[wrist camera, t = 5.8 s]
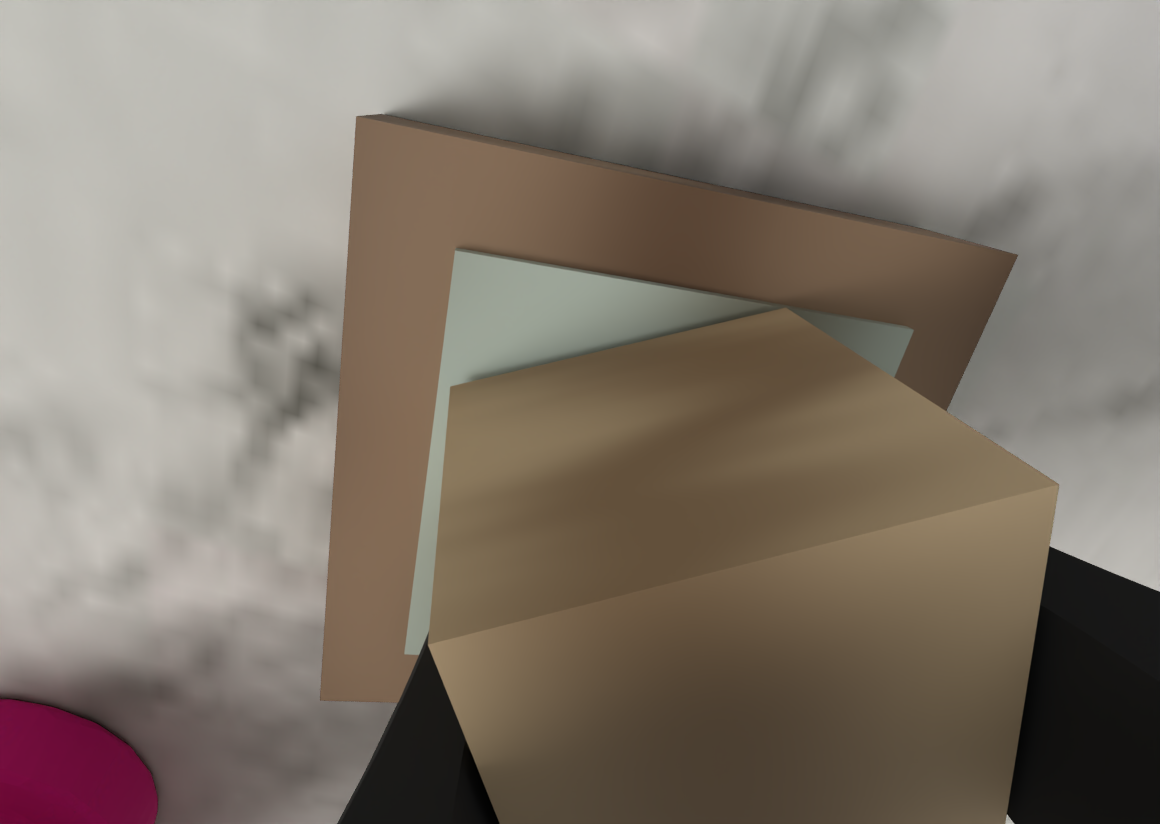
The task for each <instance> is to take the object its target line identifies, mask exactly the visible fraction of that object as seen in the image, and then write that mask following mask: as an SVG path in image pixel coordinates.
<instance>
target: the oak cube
mask: <svg viewBox="0 0 1160 824" xmlns="http://www.w3.org/2000/svg"><path fill="white" fill-rule="evenodd" d="M1058 489H1059V484H1058V483H1056V482H1055V481H1053V480H1051V479H1050V478H1048V477H1047V476H1045V475H1044V474H1042V473H1041V472H1039V471H1038V470H1036V469H1034V468H1033V467H1031V466H1030V465H1028V464H1027V463H1025V462H1024V461H1022V460H1021V459H1019V458H1017V457H1016V456H1014V455H1013V454H1011V453H1010V452H1008V451H1007V450H1005V449H1004V448H1002V447H1000V446H999V445H997V444H996V443H994V442H993V441H991V440H990V439H988V438H987V437H985V436H983V435H982V434H980V433H979V432H977V431H976V430H974V429H973V428H971V427H970V426H968V425H967V424H965V423H963V422H962V421H960V420H959V419H957V418H956V417H954V416H953V415H951V414H950V413H948V412H946V411H945V410H943V409H942V408H940V407H939V406H937V405H936V404H934V403H933V402H931V401H929V400H928V399H926V398H925V397H923V396H922V395H920V394H919V393H917V392H916V391H914V390H912V389H911V388H909V387H908V386H906V385H905V384H903V383H902V382H900V381H899V380H897V379H895V378H894V377H892V376H891V375H889V374H888V373H886V372H885V371H883V370H882V369H880V368H878V367H877V366H875V365H874V364H872V363H871V362H869V361H868V360H866V359H865V358H863V357H861V356H860V355H858V354H857V353H855V352H854V351H852V350H851V349H849V348H848V347H846V346H845V345H843V344H841V343H840V342H838V341H837V340H835V339H834V338H832V337H831V336H829V335H828V334H826V333H824V332H823V331H821V330H820V329H818V328H817V327H815V326H814V325H812V324H811V323H809V322H807V321H806V320H804V319H803V318H801V317H800V316H798V315H797V314H795V313H794V312H792V311H790V310H789V309H787V308H782V309H778V310H773V311H769V312H765V313H761V314H756V315H752V316H748V317H744V318H739V319H735V320H731V321H727V322H722V323H718V324H714V325H710V326H705V327H701V328H697V329H693V330H688V331H684V332H680V333H676V334H671V335H667V336H663V337H659V338H654V339H650V340H646V341H642V342H637V343H633V344H629V345H625V346H620V347H616V348H612V349H607V350H603V351H599V352H595V353H590V354H586V355H582V356H578V357H573V358H569V359H565V360H561V361H556V362H552V363H548V364H544V365H539V366H535V367H531V368H527V369H522V370H518V371H514V372H510V373H505V374H501V375H497V376H493V377H488V378H484V379H480V380H476V381H471V382H467V383H463V384H459V385H454V386H450V395H449V406H448V418H447V429H446V441H445V452H444V464H443V476H442V487H441V499H440V510H439V522H438V533H437V545H436V556H435V568H434V579H433V591H432V603H431V614H430V626H429V637H428V646H429V649H430V651H431V654H432V656H433V659H434V661H435V664H436V666H437V669H438V671H439V674H440V676H441V679H442V681H443V684H444V686H445V689H446V691H447V694H448V696H449V699H450V701H451V704H452V706H453V709H454V711H455V714H456V716H457V718H458V721H459V723H460V726H461V728H462V731H463V733H464V736H465V738H466V741H467V743H468V746H469V748H470V751H471V753H472V756H473V758H474V761H475V763H476V766H477V768H478V771H479V773H480V776H481V778H482V781H483V783H484V786H485V788H486V791H487V793H488V796H489V798H490V801H491V803H492V806H493V808H494V811H495V813H496V816H497V818H498V821H499V823H500V824H1005V821H1006V815H1007V809H1008V803H1009V796H1010V790H1011V784H1012V778H1013V771H1014V765H1015V759H1016V752H1017V746H1018V740H1019V734H1020V727H1021V721H1022V715H1023V709H1024V702H1025V696H1026V690H1027V683H1028V677H1029V671H1030V665H1031V658H1032V652H1033V646H1034V640H1035V633H1036V627H1037V621H1038V614H1039V608H1040V602H1041V596H1042V589H1043V583H1044V577H1045V570H1046V564H1047V558H1048V552H1049V545H1050V539H1051V533H1052V527H1053V520H1054V514H1055V508H1056V501H1057V495H1058Z"/></svg>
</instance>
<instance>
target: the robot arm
mask: <svg viewBox="0 0 1160 824" xmlns="http://www.w3.org/2000/svg"><path fill="white" fill-rule="evenodd" d="M428 637H429V632H428V634H427V637H426V639H425V642H424V644H423V647H422V649H421V651H420V654H419V656H418V659H417V661H416V663H415V666H414V668H413V670H412V673H411V675H410V677H409V679H408V682H407V684H406V686H405V688H404V691H403V693H402V695H401V697H400V700H399V702H398V704H397V706H396V708H395V710H394V712H393V714H392V717H391V719H390V721H389V723H388V725H387V727H386V729H385V731H384V733H383V735H382V738H381V740H380V742H379V744H378V746H377V748H376V750H375V752H374V754H373V756H372V758H371V760H370V762H369V764H368V766H367V768H366V770H365V772H364V774H363V776H362V778H361V780H360V782H359V784H358V786H357V788H356V789H355V791H354V793H353V795H352V797H351V799H350V801H349V803H348V804H347V806H346V808H345V810H344V812H343V814H342V816H341V817H340V819H339V821H338V823H337V824H500V823H499V821H498V818H497V816H496V813H495V811H494V808H493V806H492V803H491V801H490V798H489V796H488V793H487V791H486V788H485V786H484V783H483V781H482V778H481V776H480V773H479V771H478V768H477V766H476V763H475V761H474V758H473V756H472V753H471V751H470V748H469V746H468V743H467V741H466V738H465V736H464V733H463V731H462V728H461V726H460V723H459V721H458V718H457V716H456V714H455V711H454V709H453V706H452V704H451V701H450V699H449V696H448V694H447V691H446V689H445V686H444V684H443V681H442V679H441V676H440V674H439V671H438V669H437V666H436V664H435V661H434V659H433V656H432V654H431V651H430V649H429V646H428ZM1007 815H1008V816H1009V817H1010V818H1011V820H1012V821H1013V822H1014V824H1160V592H1159V591H1156V590H1154V589H1151V588H1149V587H1146V586H1144V585H1141V584H1139V583H1136V582H1134V581H1131V580H1129V579H1126V578H1124V577H1121V576H1119V575H1116V574H1114V573H1111V572H1109V571H1107V570H1104V569H1102V568H1099V567H1097V566H1095V565H1092V564H1090V563H1087V562H1085V561H1083V560H1080V559H1078V558H1076V557H1073V556H1071V555H1068V554H1066V553H1064V552H1061V551H1059V550H1057V549H1054V548H1052V547H1050V546H1049V552H1048V558H1047V564H1046V570H1045V577H1044V583H1043V589H1042V596H1041V602H1040V608H1039V614H1038V621H1037V627H1036V633H1035V640H1034V646H1033V652H1032V658H1031V665H1030V671H1029V677H1028V683H1027V690H1026V696H1025V702H1024V709H1023V715H1022V721H1021V727H1020V734H1019V740H1018V746H1017V752H1016V759H1015V765H1014V771H1013V778H1012V784H1011V790H1010V796H1009V803H1008V809H1007Z"/></svg>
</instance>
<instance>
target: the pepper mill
mask: <svg viewBox="0 0 1160 824" xmlns="http://www.w3.org/2000/svg"><path fill="white" fill-rule="evenodd" d="M157 809H158V798H157V793H156V789H155V785H154V782H153V778H152V776H151V773H150V771H149V770H148V769H147V767H146V766H145V765H144V763H143V762H142V761H141V760H140V758H139V757H138V756H137V754H136V753H135V752H134V751H133V749H132V748H131V747H130V746H129V745H128V744H126V743H125V742H123V741H122V740H120V739H119V738H118V737H116V736H115V735H113V734H112V733H110V732H109V731H108V730H106V729H105V728H103V727H101V726H100V725H98V724H97V723H95V722H92V721H89V720H87V719H84V718H81V717H79V716H76V715H73V714H71V713H68V712H65V711H63V710H60V709H57V708H54V707H50V706H45V705H41V704H36V703H30V702H24V701H18V700H13V699H0V824H154V823H155V819H156V816H157Z"/></svg>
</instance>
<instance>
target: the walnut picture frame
mask: <svg viewBox="0 0 1160 824" xmlns="http://www.w3.org/2000/svg"><path fill="white" fill-rule="evenodd" d="M1017 256H1018V255H1016V254H1013V253H1009V252H1005V251H1002V250H998V249H994V248H991V247H987V246H983V245H980V244H976V243H972V242H969V241H965V240H961V239H958V238H954V237H950V236H947V235H943V234H940V233H936V232H932V231H929V230H925V229H921V228H917V227H912V226H907V225H902V224H898V223H893V222H888V221H884V220H879V219H874V218H869V217H865V216H860V215H855V214H851V213H846V212H841V211H836V210H832V209H827V208H822V207H818V206H813V205H808V204H803V203H799V202H794V201H789V200H785V199H780V198H775V197H770V196H766V195H761V194H756V193H752V192H747V191H742V190H737V189H733V188H728V187H723V186H718V185H714V184H709V183H704V182H700V181H695V180H690V179H685V178H681V177H676V176H671V175H667V174H662V173H657V172H652V171H648V170H643V169H638V168H634V167H629V166H624V165H619V164H615V163H610V162H605V161H601V160H596V159H591V158H586V157H582V156H577V155H572V154H568V153H563V152H558V151H553V150H549V149H544V148H539V147H535V146H530V145H525V144H520V143H516V142H511V141H506V140H501V139H497V138H492V137H487V136H483V135H478V134H473V133H468V132H464V131H459V130H454V129H450V128H445V127H440V126H435V125H431V124H426V123H421V122H417V121H412V120H407V119H402V118H398V117H393V116H388V115H384V114H377V115H366V116H356V130H355V146H354V162H353V178H352V194H351V210H350V226H349V242H348V258H347V274H346V290H345V306H344V322H343V338H342V354H341V370H340V386H339V402H338V419H337V435H336V451H335V467H334V483H333V499H332V515H331V531H330V547H329V563H328V579H327V595H326V611H325V627H324V643H323V659H322V675H321V691H320V700H322V701H359V702H395V703H398V702H399V700H400V697H401V695H402V693H403V691H404V688H405V686H406V684H407V682H408V679H409V677H410V675H411V673H412V670H413V668H414V666H415V663H416V661H417V659H418V656H419V654H420V651H421V649H422V647H423V644H424V642H425V639H426V637H427V634H428V632H429V626H430V614H431V603H432V591H433V579H434V568H435V556H436V545H437V533H438V522H439V510H440V499H441V487H442V476H443V464H444V452H445V441H446V429H447V418H448V406H449V395H450V386H454V385H459V384H463V383H467V382H471V381H476V380H480V379H484V378H488V377H493V376H497V375H501V374H505V373H510V372H514V371H518V370H522V369H527V368H531V367H535V366H539V365H544V364H548V363H552V362H556V361H561V360H565V359H569V358H573V357H578V356H582V355H586V354H590V353H595V352H599V351H603V350H607V349H612V348H616V347H620V346H625V345H629V344H633V343H637V342H642V341H646V340H650V339H654V338H659V337H663V336H667V335H671V334H676V333H680V332H684V331H688V330H693V329H697V328H701V327H705V326H710V325H714V324H718V323H722V322H727V321H731V320H735V319H739V318H744V317H748V316H752V315H756V314H761V313H765V312H769V311H773V310H778V309H782V308H787V309H789V310H790V311H792V312H794V313H795V314H797V315H798V316H800V317H801V318H803V319H804V320H806V321H807V322H809V323H811V324H812V325H814V326H815V327H817V328H818V329H820V330H821V331H823V332H824V333H826V334H828V335H829V336H831V337H832V338H834V339H835V340H837V341H838V342H840V343H841V344H843V345H845V346H846V347H848V348H849V349H851V350H852V351H854V352H855V353H857V354H858V355H860V356H861V357H863V358H865V359H866V360H868V361H869V362H871V363H872V364H874V365H875V366H877V367H878V368H880V369H882V370H883V371H885V372H886V373H888V374H889V375H891V376H892V377H894V378H895V379H897V380H899V381H900V382H902V383H903V384H905V385H906V386H908V387H909V388H911V389H912V390H914V391H916V392H917V393H919V394H920V395H922V396H923V397H925V398H926V399H928V400H929V401H931V402H933V403H934V404H936V405H937V406H939V407H940V408H942V409H943V410H945V411H947V408H948V406H949V404H950V402H951V400H952V397H953V395H954V393H955V391H956V389H957V387H958V384H959V382H960V380H961V378H962V376H963V374H964V371H965V369H966V367H967V365H968V363H969V361H970V358H971V356H972V354H973V352H974V350H975V348H976V345H977V343H978V341H979V339H980V337H981V335H982V332H983V330H984V328H985V326H986V324H987V322H988V319H989V317H990V315H991V313H992V311H993V308H994V306H995V304H996V302H997V300H998V298H999V295H1000V293H1001V291H1002V289H1003V287H1004V285H1005V282H1006V280H1007V278H1008V276H1009V274H1010V272H1011V269H1012V267H1013V265H1014V263H1015V261H1016V259H1017Z"/></svg>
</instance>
